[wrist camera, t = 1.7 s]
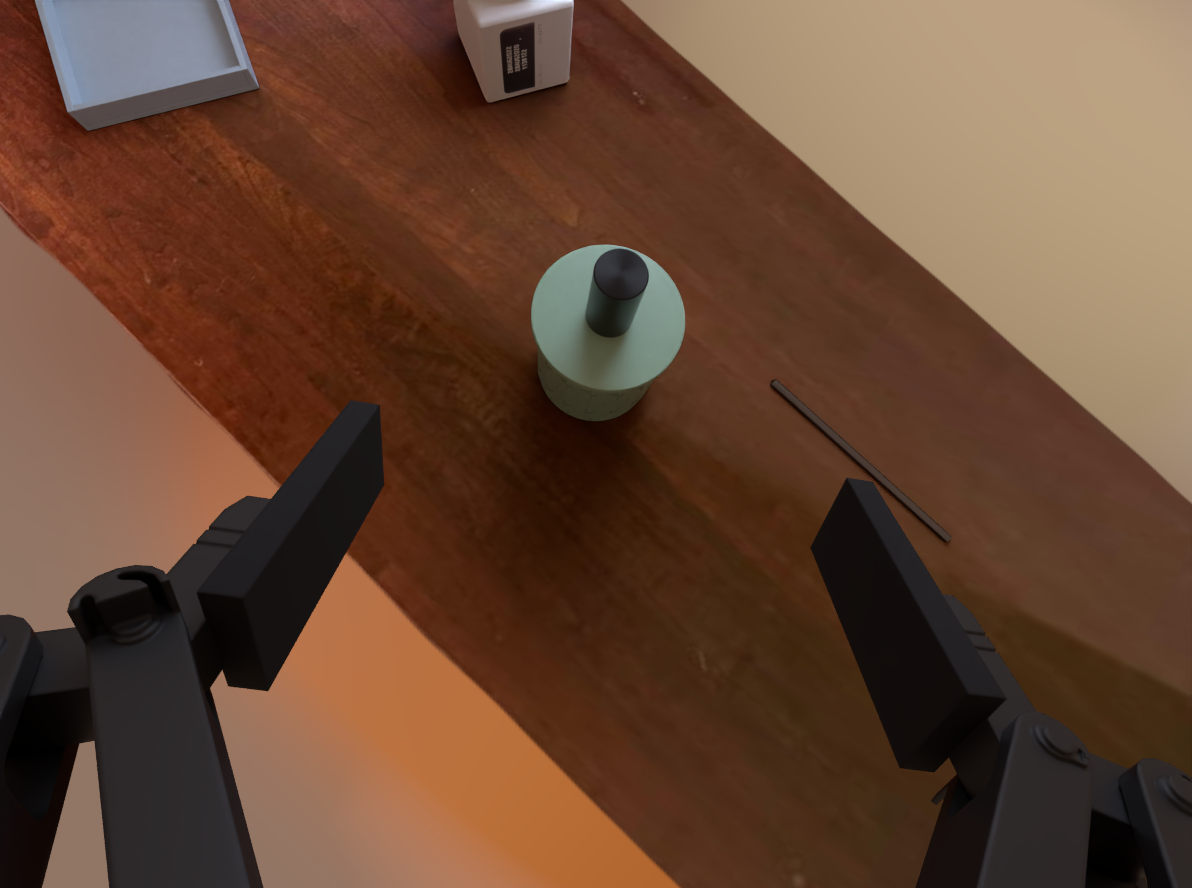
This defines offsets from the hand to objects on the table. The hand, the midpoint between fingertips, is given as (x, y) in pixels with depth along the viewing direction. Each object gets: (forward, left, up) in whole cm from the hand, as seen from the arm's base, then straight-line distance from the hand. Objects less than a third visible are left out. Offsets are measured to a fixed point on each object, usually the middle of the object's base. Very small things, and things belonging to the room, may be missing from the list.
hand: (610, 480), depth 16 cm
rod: (+24, -4, -28) cm, 37 cm away
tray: (-17, +50, -27) cm, 59 cm away
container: (+11, +40, -27) cm, 50 cm away
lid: (+7, +11, -18) cm, 22 cm away
